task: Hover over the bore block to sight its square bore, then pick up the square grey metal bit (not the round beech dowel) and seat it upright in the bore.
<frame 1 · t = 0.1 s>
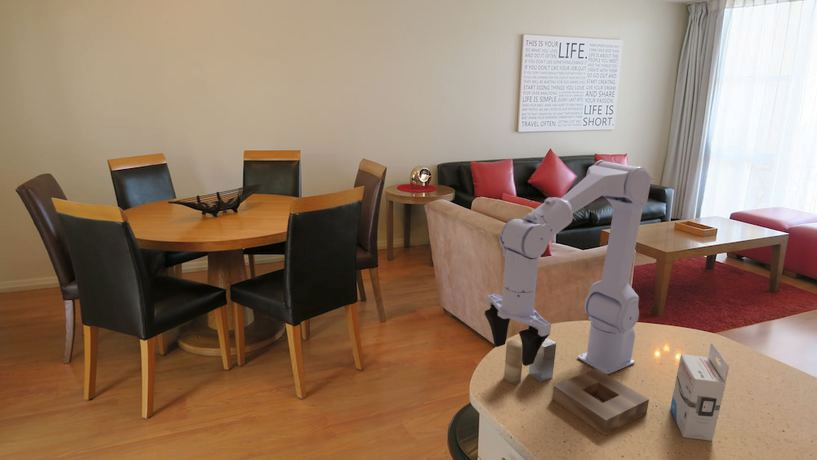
hand: (513, 354, 96), 10 cm above the counter, fingers open, 7 cm apart
bore block: (598, 405, 98), on the counter
square bit: (540, 375, 107), on the counter
ink box: (690, 425, 93), on the counter
round dowel: (512, 379, 106), on the counter
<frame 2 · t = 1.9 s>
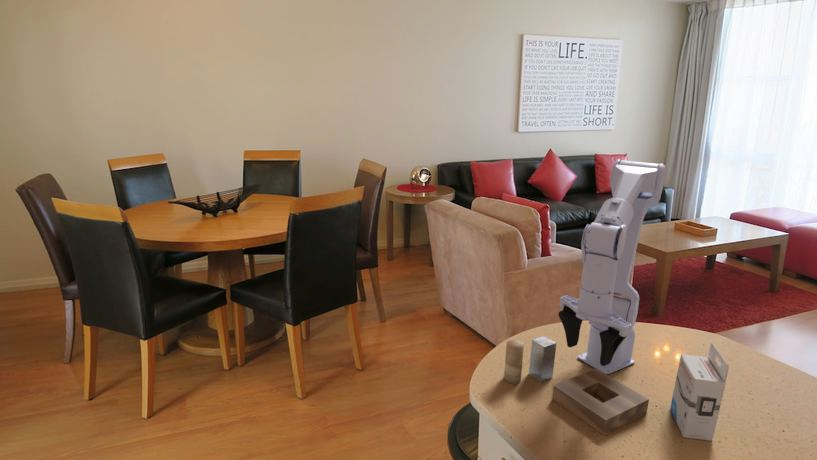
hand: (588, 354, 98), 9 cm above the counter, fingers open, 7 cm apart
nothing on the counter moved.
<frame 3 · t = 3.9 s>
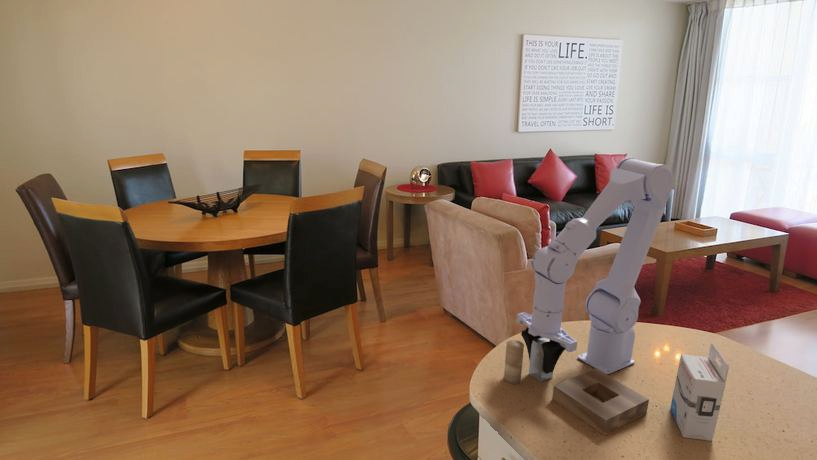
hand: (541, 367, 107), 2 cm above the counter, fingers closed on square bit, 3 cm apart
square bit: (540, 375, 107), on the counter, touching gripper
everything else where it was.
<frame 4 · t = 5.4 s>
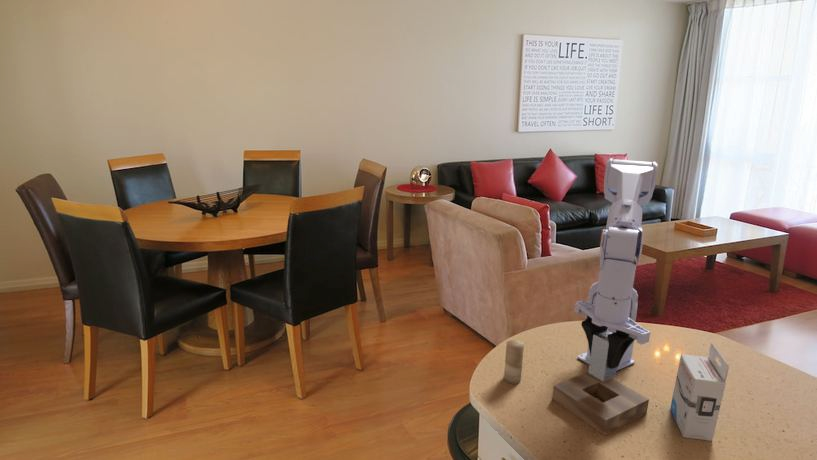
hand: (604, 361, 95), 9 cm above the counter, fingers closed on square bit, 3 cm apart
square bit: (601, 374, 96), point 7 cm above the counter, touching gripper
everything else where it was.
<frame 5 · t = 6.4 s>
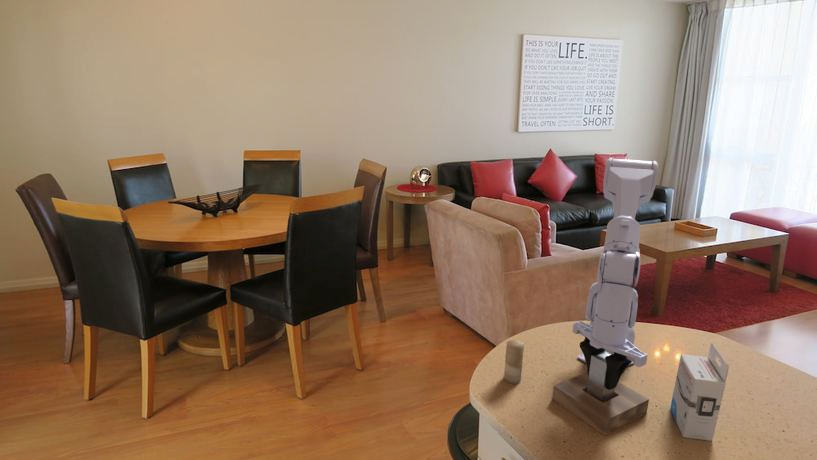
hand: (602, 382, 96), 5 cm above the counter, fingers closed on square bit, 3 cm apart
square bit: (599, 394, 97), point 2 cm above the counter, touching gripper
everything else where it was.
when the fingers open (3 cm above the counter, at t = 7.2 s): square bit stays where it is, resting in bore block.
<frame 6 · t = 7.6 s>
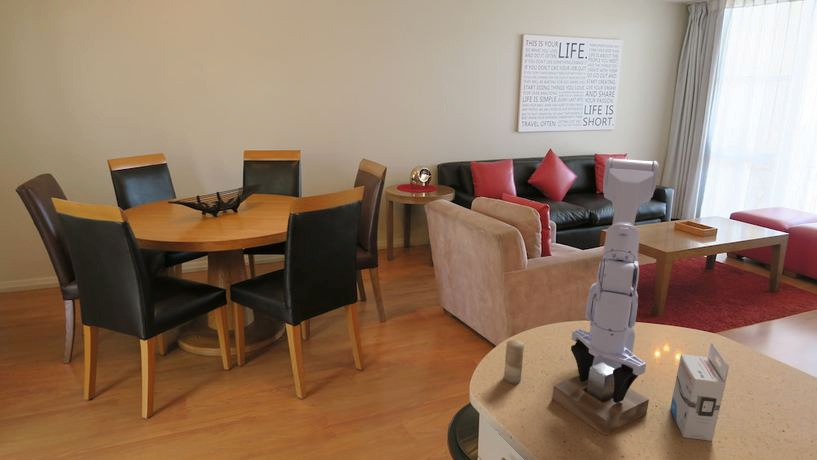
hand: (600, 389, 97), 4 cm above the counter, fingers open, 7 cm apart
square bit: (598, 406, 98), resting in bore block
everything else where it was.
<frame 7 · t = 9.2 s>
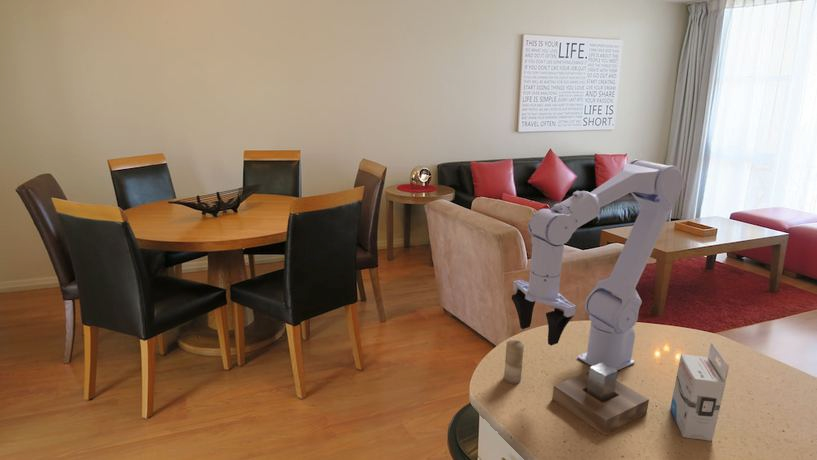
hand: (538, 335, 103), 10 cm above the counter, fingers open, 7 cm apart
nothing on the counter moved.
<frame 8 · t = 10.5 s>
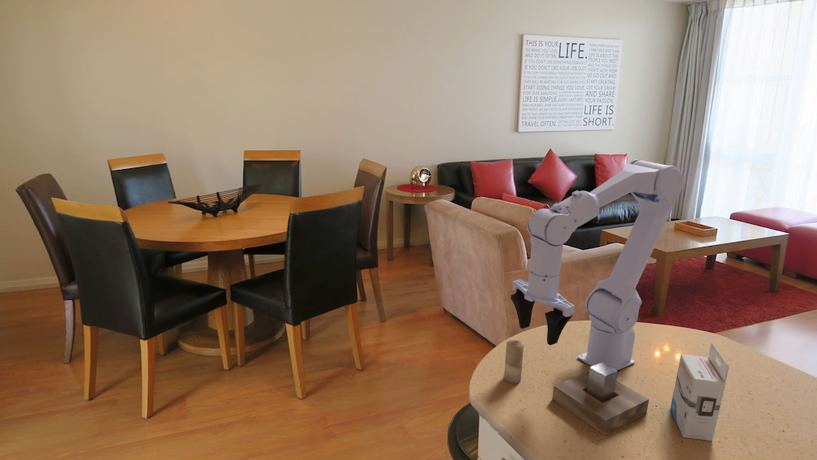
hand: (537, 335, 104), 10 cm above the counter, fingers open, 7 cm apart
nothing on the counter moved.
at the end: square bit 0.1 cm off-centre on the bore block, point 0.0 cm above the bore block's base; square bit tilted 0°; the gripper is holding nothing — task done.
